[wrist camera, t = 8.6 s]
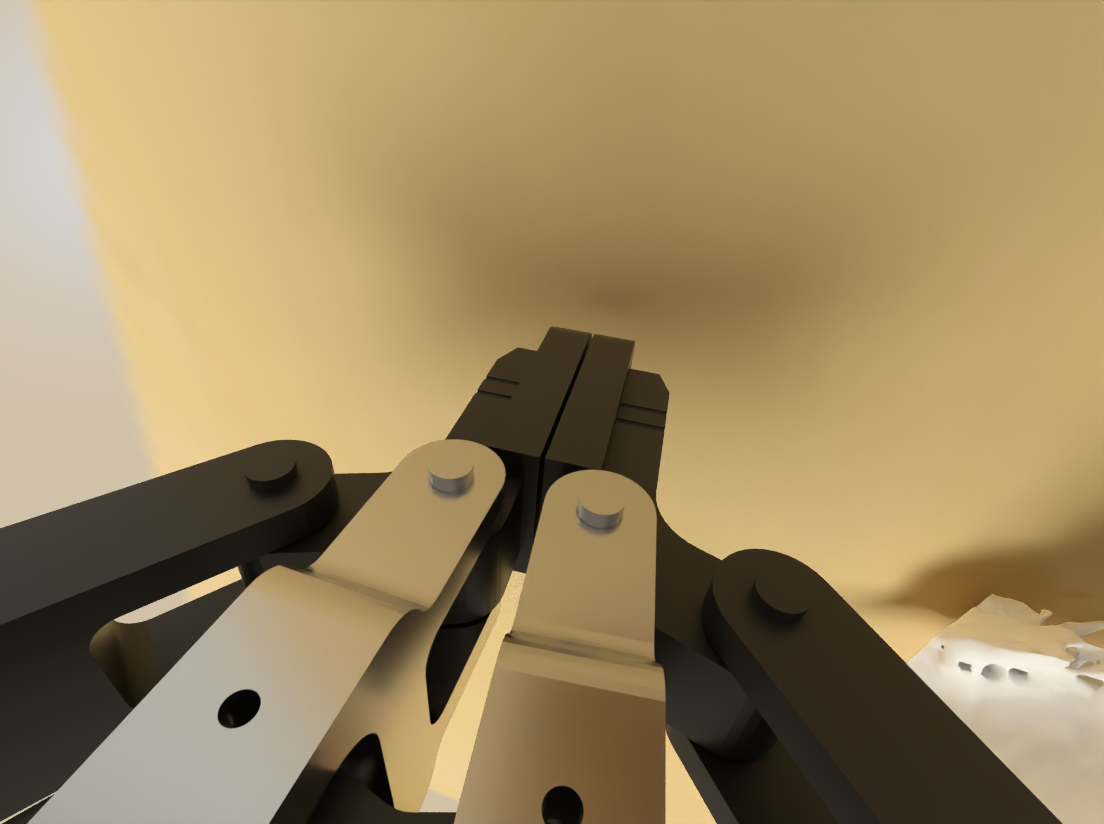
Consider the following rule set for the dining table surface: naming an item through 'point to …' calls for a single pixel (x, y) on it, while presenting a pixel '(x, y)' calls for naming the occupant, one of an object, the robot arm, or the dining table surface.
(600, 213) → the dining table surface
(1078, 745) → the white irregular lump
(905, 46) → the dining table surface
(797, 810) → the robot arm
